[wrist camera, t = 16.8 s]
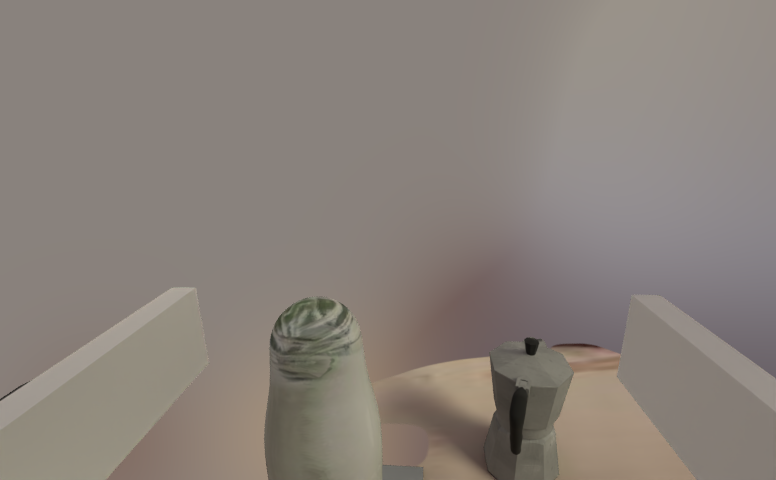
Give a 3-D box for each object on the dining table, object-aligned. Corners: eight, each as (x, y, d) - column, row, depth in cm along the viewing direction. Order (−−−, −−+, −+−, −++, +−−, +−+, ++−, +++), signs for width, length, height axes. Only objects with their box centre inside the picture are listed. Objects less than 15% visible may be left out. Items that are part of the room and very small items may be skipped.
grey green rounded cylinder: (279, 525, 42) (247, 288, 34) (370, 497, 45) (361, 273, 36) (285, 636, 33) (242, 348, 24) (398, 591, 36) (394, 321, 27)
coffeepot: (494, 416, 57) (502, 307, 52) (563, 438, 53) (579, 322, 48) (464, 505, 44) (470, 371, 39) (552, 543, 40) (573, 399, 35)
